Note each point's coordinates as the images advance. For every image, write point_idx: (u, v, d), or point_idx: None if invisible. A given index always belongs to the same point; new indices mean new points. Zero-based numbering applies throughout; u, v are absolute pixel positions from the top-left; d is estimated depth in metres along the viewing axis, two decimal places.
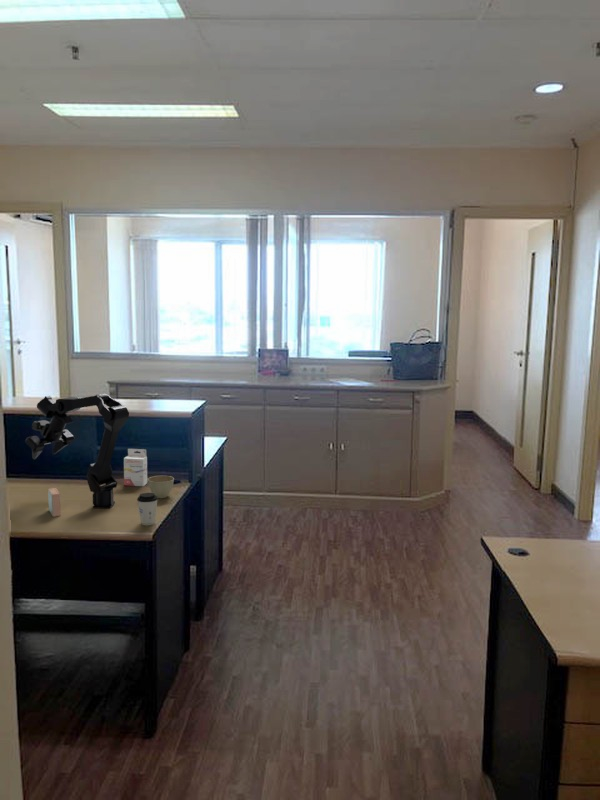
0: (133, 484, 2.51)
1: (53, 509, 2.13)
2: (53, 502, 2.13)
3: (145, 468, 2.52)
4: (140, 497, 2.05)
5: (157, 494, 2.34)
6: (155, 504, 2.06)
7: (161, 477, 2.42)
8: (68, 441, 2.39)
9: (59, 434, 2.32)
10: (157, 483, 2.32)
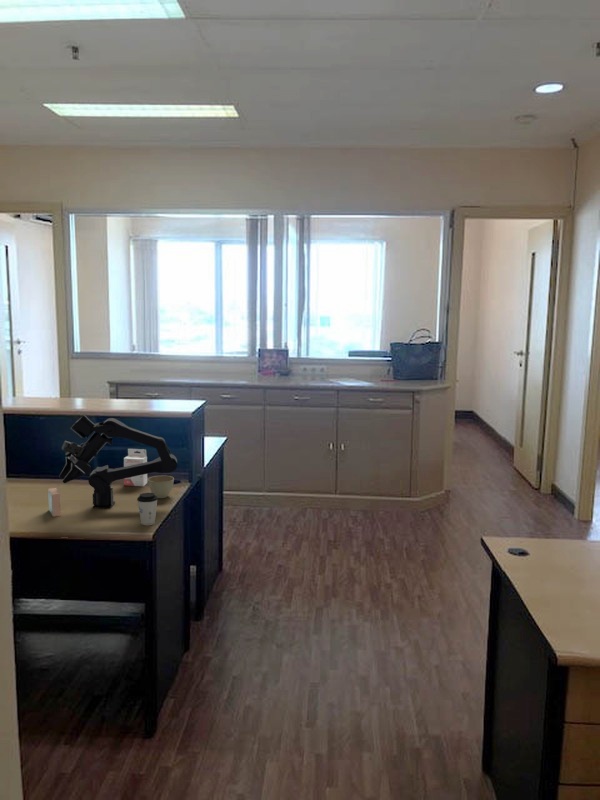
0: (133, 484, 2.51)
1: (53, 509, 2.13)
2: (53, 502, 2.13)
3: None
4: (140, 497, 2.05)
5: (157, 494, 2.34)
6: (155, 504, 2.06)
7: (161, 477, 2.42)
8: None
9: None
10: (157, 483, 2.32)
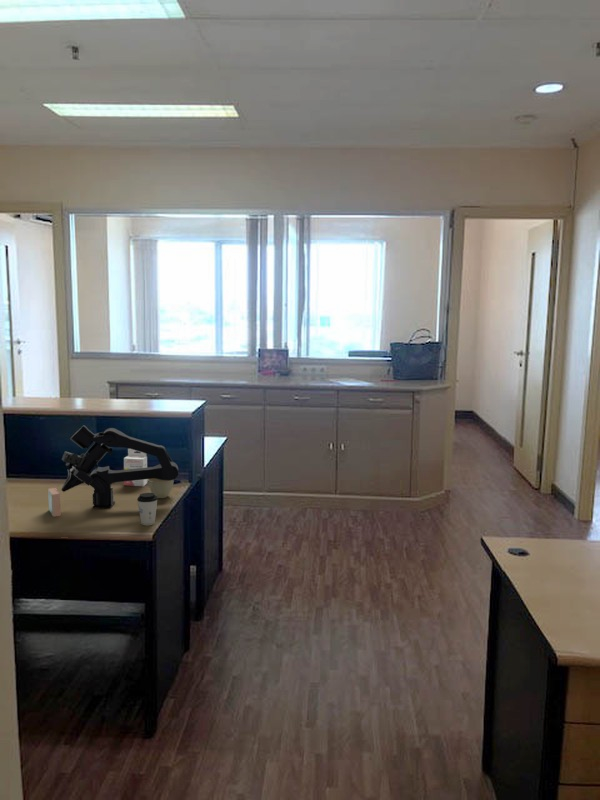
0: (133, 484, 2.51)
1: (53, 509, 2.13)
2: (53, 502, 2.13)
3: None
4: (140, 497, 2.05)
5: (157, 494, 2.34)
6: (155, 504, 2.06)
7: None
8: None
9: None
10: (157, 483, 2.32)
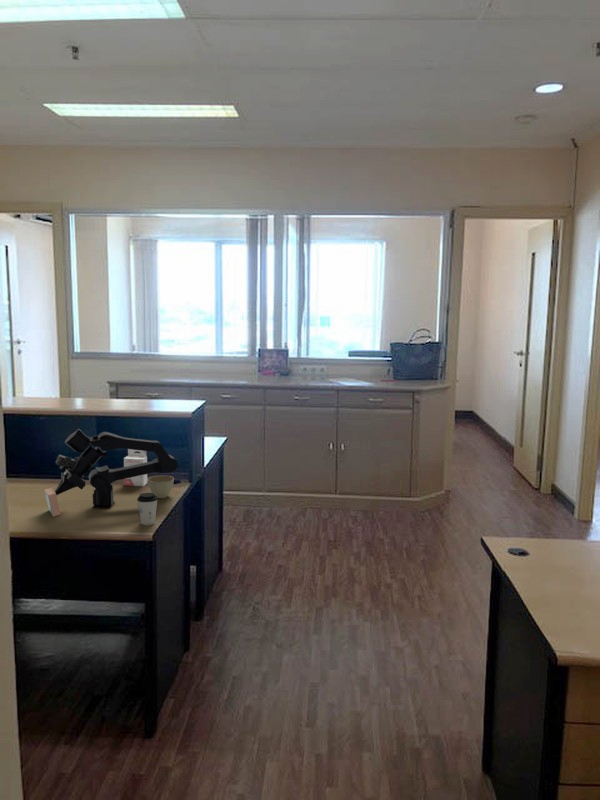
0: (133, 484, 2.51)
1: (52, 509, 2.13)
2: (51, 502, 2.12)
3: None
4: (140, 497, 2.05)
5: (157, 494, 2.34)
6: (155, 504, 2.06)
7: (161, 477, 2.42)
8: None
9: None
10: (157, 483, 2.32)
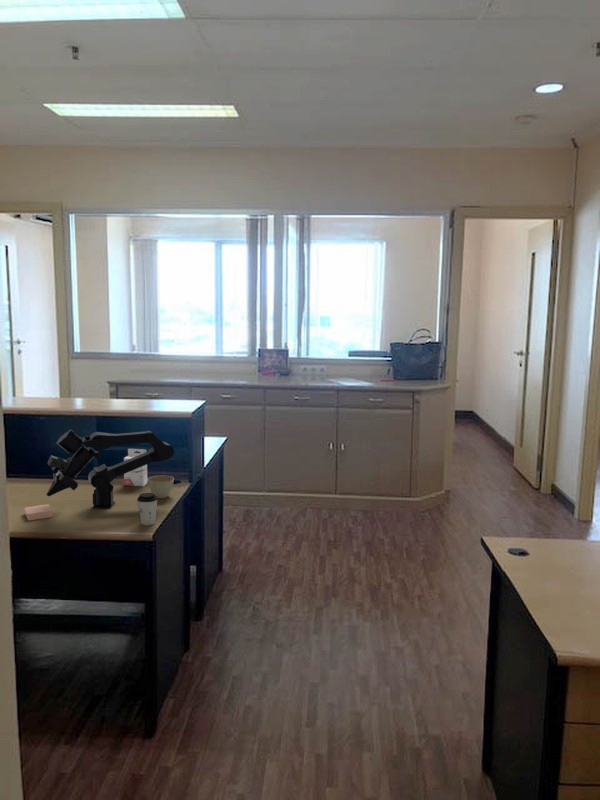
0: (133, 484, 2.51)
1: (45, 517, 2.12)
2: (37, 518, 2.11)
3: (145, 468, 2.52)
4: (140, 497, 2.05)
5: (157, 494, 2.34)
6: (155, 504, 2.06)
7: (161, 477, 2.42)
8: None
9: None
10: (157, 483, 2.32)
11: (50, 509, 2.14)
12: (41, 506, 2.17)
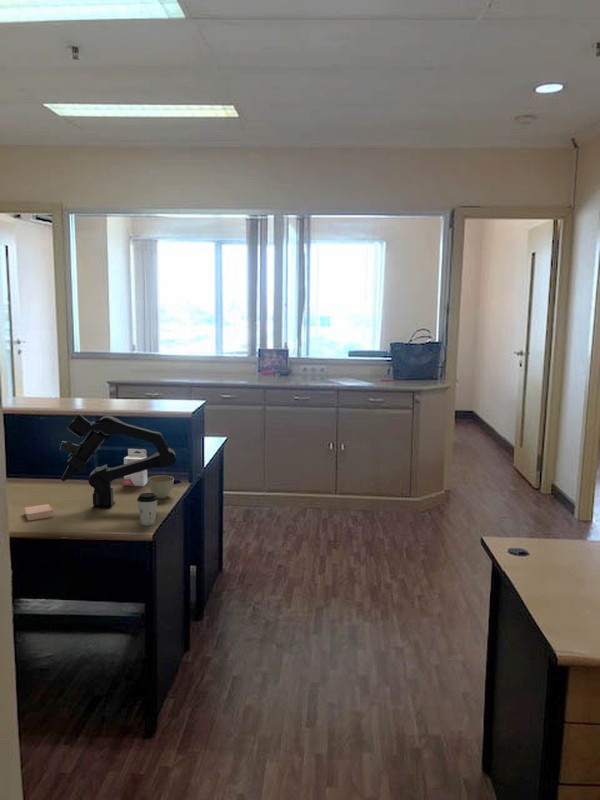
0: (133, 484, 2.51)
1: (45, 517, 2.12)
2: (37, 518, 2.11)
3: None
4: (140, 497, 2.05)
5: (157, 494, 2.34)
6: (155, 504, 2.06)
7: (161, 477, 2.42)
8: None
9: (92, 454, 2.21)
10: (157, 483, 2.32)
11: (50, 509, 2.14)
12: (41, 506, 2.17)
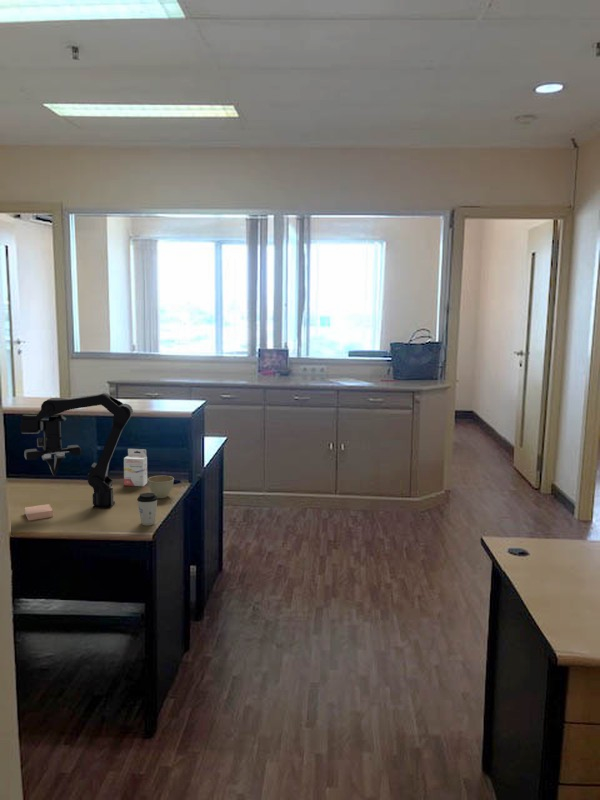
0: (133, 484, 2.51)
1: (45, 517, 2.12)
2: (37, 518, 2.11)
3: (145, 468, 2.52)
4: (140, 497, 2.05)
5: (157, 494, 2.34)
6: (155, 504, 2.06)
7: (161, 477, 2.42)
8: (72, 452, 2.21)
9: (53, 440, 2.17)
10: (157, 483, 2.32)
11: (50, 509, 2.14)
12: (41, 506, 2.17)
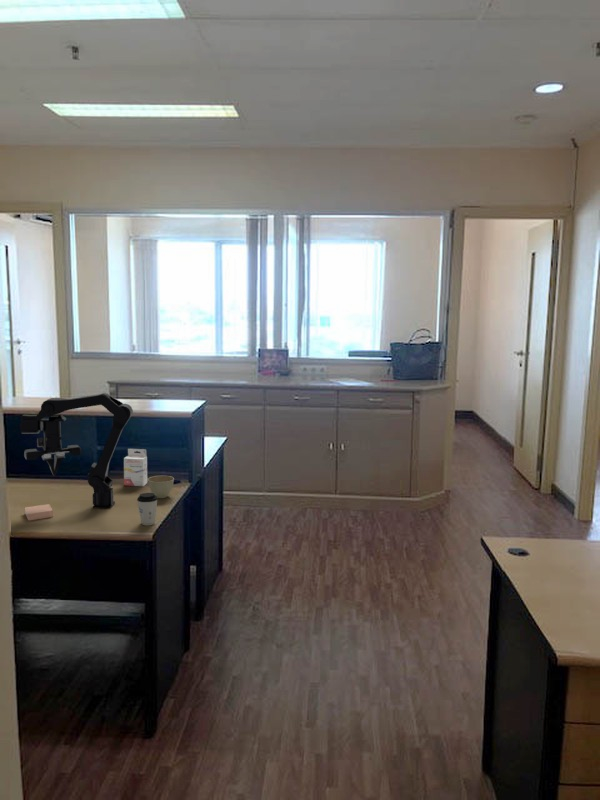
0: (133, 484, 2.51)
1: (45, 517, 2.12)
2: (37, 518, 2.11)
3: (145, 468, 2.52)
4: (140, 497, 2.05)
5: (157, 494, 2.34)
6: (155, 504, 2.06)
7: (161, 477, 2.42)
8: (72, 452, 2.21)
9: (53, 440, 2.17)
10: (157, 483, 2.32)
11: (50, 509, 2.14)
12: (41, 506, 2.17)
